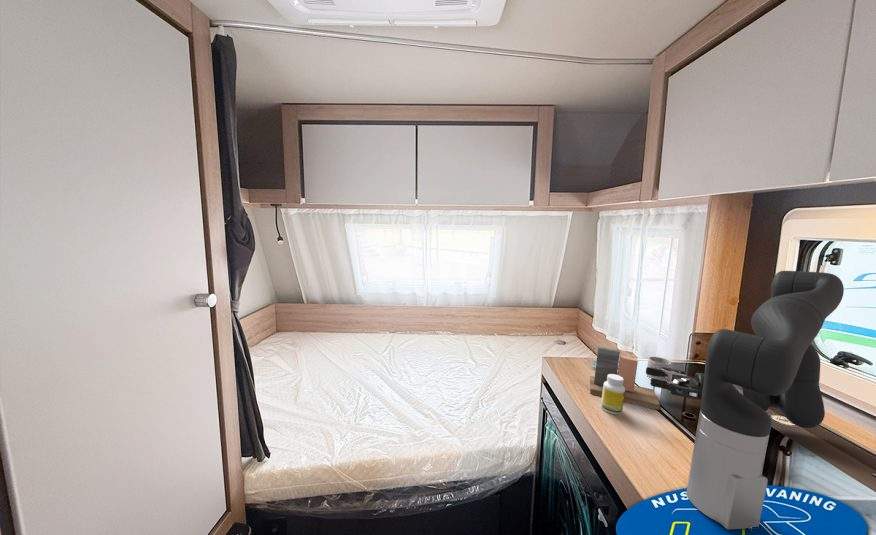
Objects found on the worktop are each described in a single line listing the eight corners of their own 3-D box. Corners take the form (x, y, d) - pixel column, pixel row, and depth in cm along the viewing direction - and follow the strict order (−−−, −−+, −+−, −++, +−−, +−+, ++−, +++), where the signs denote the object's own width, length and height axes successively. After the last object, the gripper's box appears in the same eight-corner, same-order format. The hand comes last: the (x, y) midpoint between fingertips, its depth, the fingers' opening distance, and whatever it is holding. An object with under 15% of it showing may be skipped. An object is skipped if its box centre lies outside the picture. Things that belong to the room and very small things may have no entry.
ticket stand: (659, 409, 91) (665, 365, 90) (590, 393, 99) (595, 351, 97) (652, 394, 100) (658, 353, 99) (589, 380, 108) (594, 341, 106)
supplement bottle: (625, 416, 87) (629, 382, 86) (603, 413, 88) (607, 380, 87) (618, 405, 93) (622, 374, 91) (598, 403, 94) (602, 371, 92)
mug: (673, 384, 108) (675, 365, 107) (651, 381, 109) (654, 363, 108) (657, 371, 118) (660, 354, 117) (638, 369, 119) (640, 352, 118)
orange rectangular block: (633, 392, 97) (637, 361, 96) (616, 388, 99) (620, 357, 98) (632, 389, 99) (636, 358, 98) (615, 385, 101) (619, 355, 100)
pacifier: (601, 366, 120) (588, 367, 119) (603, 350, 120) (590, 350, 118) (617, 375, 113) (603, 376, 112) (619, 358, 113) (606, 359, 111)
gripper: (709, 367, 95) (646, 355, 102) (728, 388, 82) (654, 373, 89) (705, 391, 96) (643, 378, 103) (723, 415, 83) (650, 398, 90)
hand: (648, 375), depth 96 cm, fingers open, 8 cm apart
